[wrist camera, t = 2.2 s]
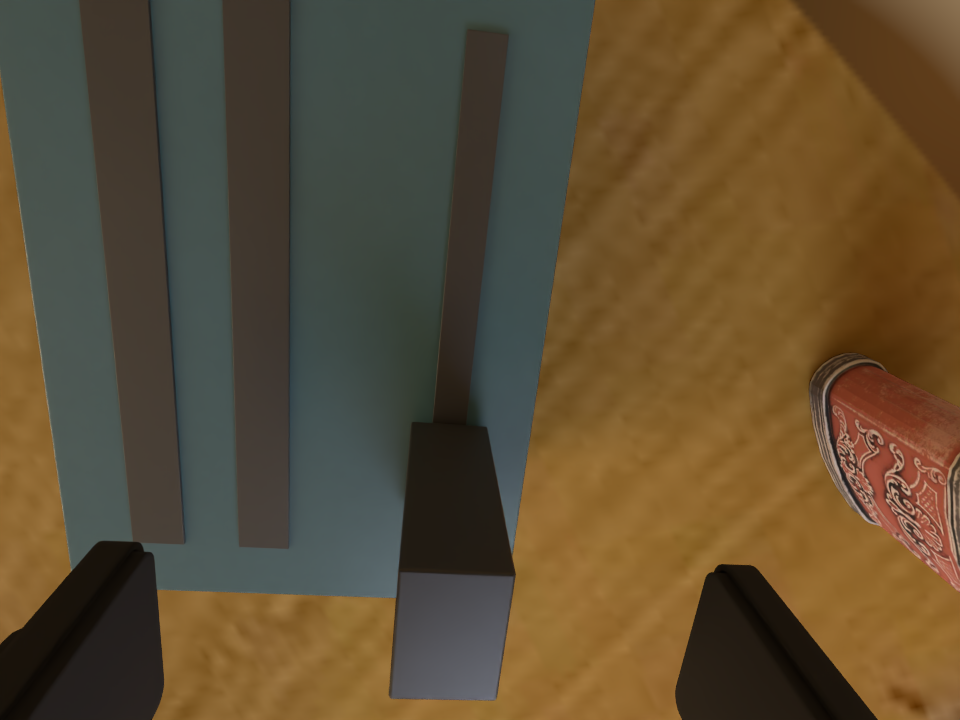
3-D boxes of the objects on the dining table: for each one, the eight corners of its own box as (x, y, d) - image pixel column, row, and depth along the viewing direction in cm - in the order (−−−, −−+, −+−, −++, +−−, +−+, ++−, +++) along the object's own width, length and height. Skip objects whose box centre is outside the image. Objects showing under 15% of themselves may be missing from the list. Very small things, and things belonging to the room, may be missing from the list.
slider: (487, 425, 14) (516, 574, 9) (476, 520, 15) (496, 702, 10) (411, 420, 14) (398, 569, 9) (404, 516, 15) (387, 700, 10)
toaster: (542, -4, 18) (619, -115, 11) (485, 460, 24) (509, 608, 16) (163, -58, 17) (-56, -226, 9) (191, 442, 22) (66, 593, 15)
